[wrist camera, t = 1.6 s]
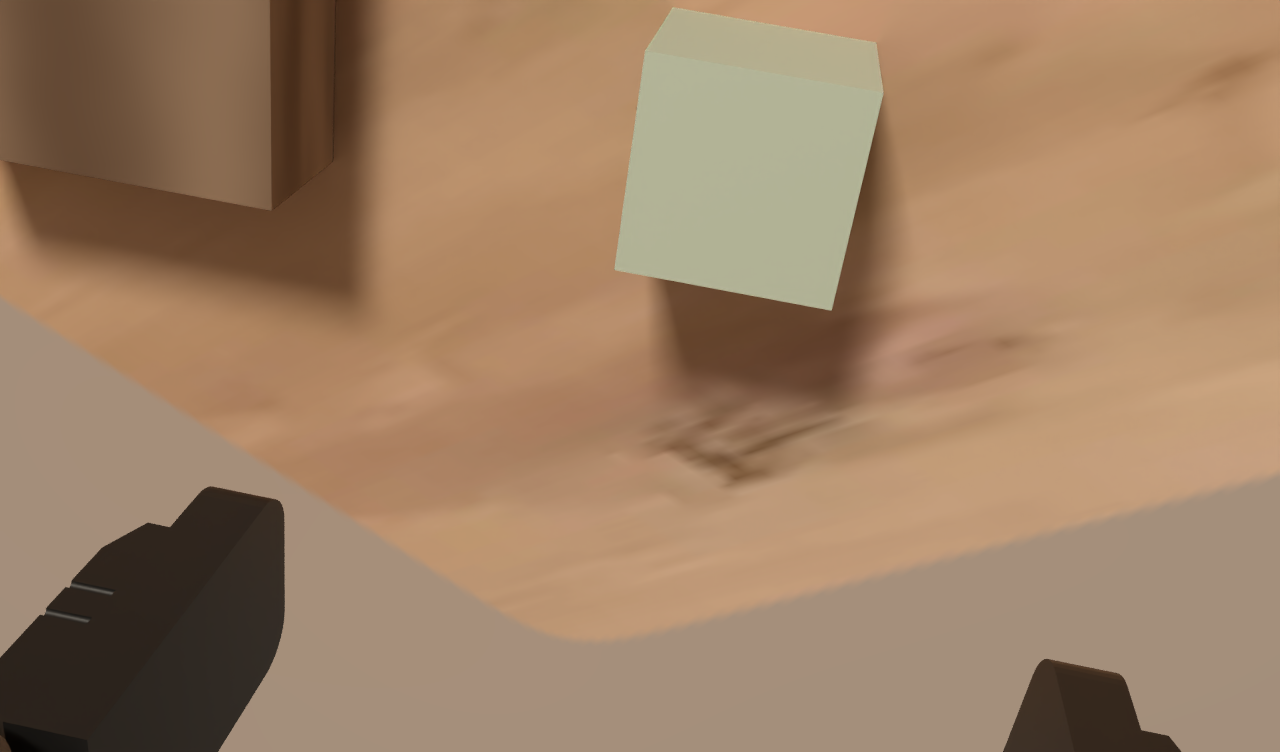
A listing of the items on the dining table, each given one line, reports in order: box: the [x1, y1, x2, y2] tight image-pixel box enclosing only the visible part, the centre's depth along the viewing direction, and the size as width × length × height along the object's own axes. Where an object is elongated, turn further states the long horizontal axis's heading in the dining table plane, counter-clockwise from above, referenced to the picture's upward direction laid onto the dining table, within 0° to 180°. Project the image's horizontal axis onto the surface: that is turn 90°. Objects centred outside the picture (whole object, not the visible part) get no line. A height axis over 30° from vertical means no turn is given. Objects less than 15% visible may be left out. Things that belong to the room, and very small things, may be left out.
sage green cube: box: [614, 7, 884, 311], centre depth 28 cm, size 5×5×5 cm
